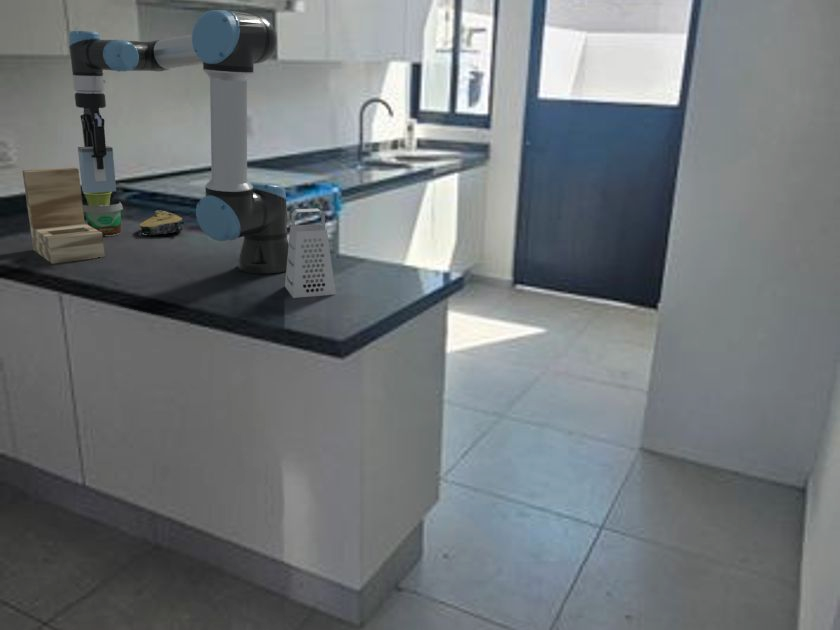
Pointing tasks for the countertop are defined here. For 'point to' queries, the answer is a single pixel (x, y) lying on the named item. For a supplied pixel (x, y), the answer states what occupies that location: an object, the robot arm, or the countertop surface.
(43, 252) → the slotted wooden holder
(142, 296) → the countertop surface
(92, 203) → the plant pot
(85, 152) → the pale blue plaque
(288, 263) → the grater
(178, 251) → the countertop surface
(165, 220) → the yellow piece
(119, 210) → the food container
